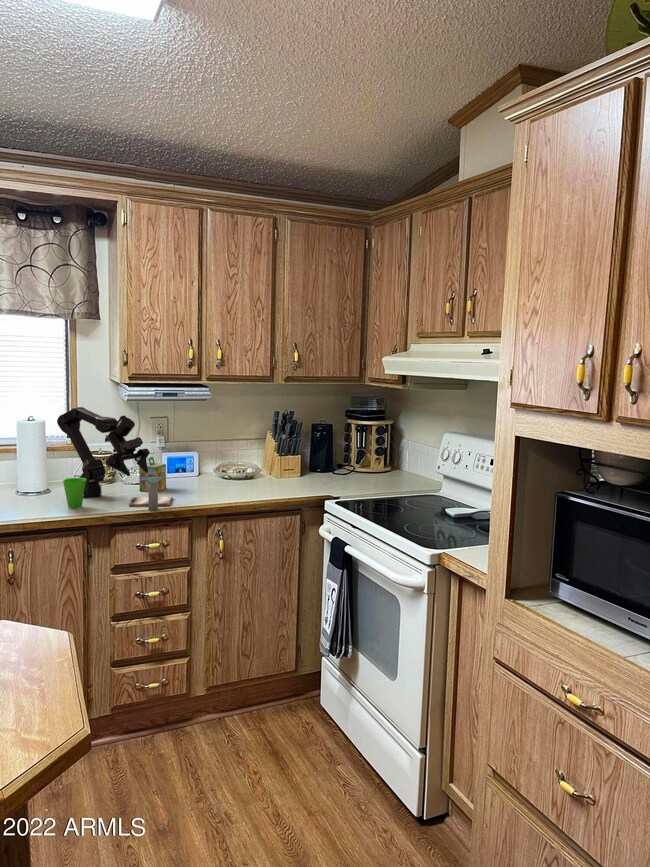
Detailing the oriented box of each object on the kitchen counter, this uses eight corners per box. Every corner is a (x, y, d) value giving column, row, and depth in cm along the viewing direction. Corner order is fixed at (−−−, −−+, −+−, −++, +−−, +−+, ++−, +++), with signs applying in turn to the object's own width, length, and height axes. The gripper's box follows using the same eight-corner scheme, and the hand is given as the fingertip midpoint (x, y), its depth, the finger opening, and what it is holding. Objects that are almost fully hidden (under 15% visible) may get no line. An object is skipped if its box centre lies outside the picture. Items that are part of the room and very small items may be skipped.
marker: (147, 511, 258) (147, 478, 256) (148, 508, 262) (148, 476, 260) (157, 511, 259) (157, 478, 257) (158, 508, 262) (158, 476, 261)
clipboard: (129, 506, 264) (129, 502, 264) (133, 499, 277) (133, 494, 277) (170, 506, 267) (169, 501, 266) (172, 498, 279) (172, 494, 279)
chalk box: (158, 492, 290) (157, 459, 288) (138, 491, 291) (138, 458, 289) (167, 488, 299) (166, 456, 297) (148, 487, 300) (148, 455, 298)
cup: (91, 507, 262) (90, 480, 261) (69, 510, 255) (69, 483, 254) (80, 503, 268) (79, 476, 266) (58, 506, 261) (57, 479, 260)
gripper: (110, 433, 256) (130, 465, 252) (146, 429, 272) (165, 458, 267) (97, 451, 261) (116, 482, 257) (133, 445, 277) (152, 474, 272)
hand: (138, 473), depth 263 cm, fingers open, 9 cm apart
